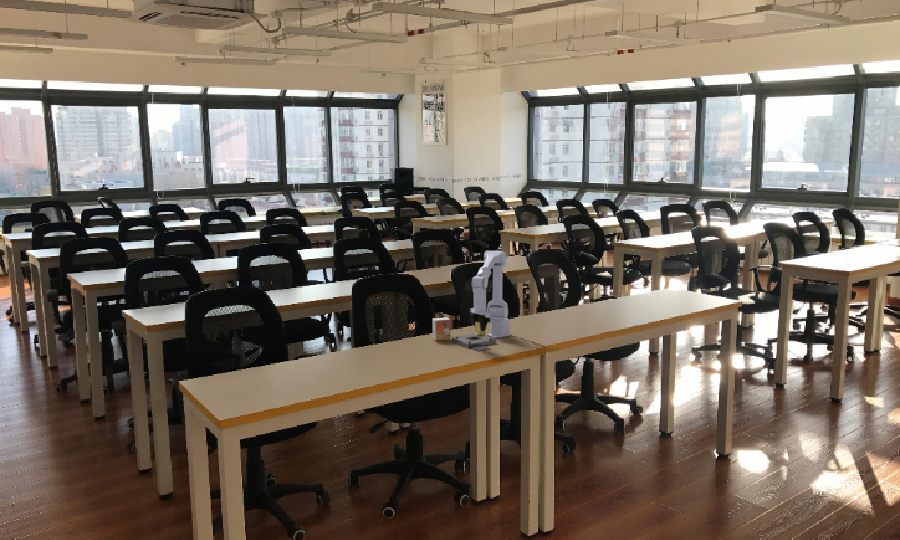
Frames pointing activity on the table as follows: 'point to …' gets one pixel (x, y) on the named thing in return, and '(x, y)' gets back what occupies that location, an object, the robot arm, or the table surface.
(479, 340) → the housing
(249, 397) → the table surface
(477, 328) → the brass cylinder
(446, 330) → the small box
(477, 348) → the mat
